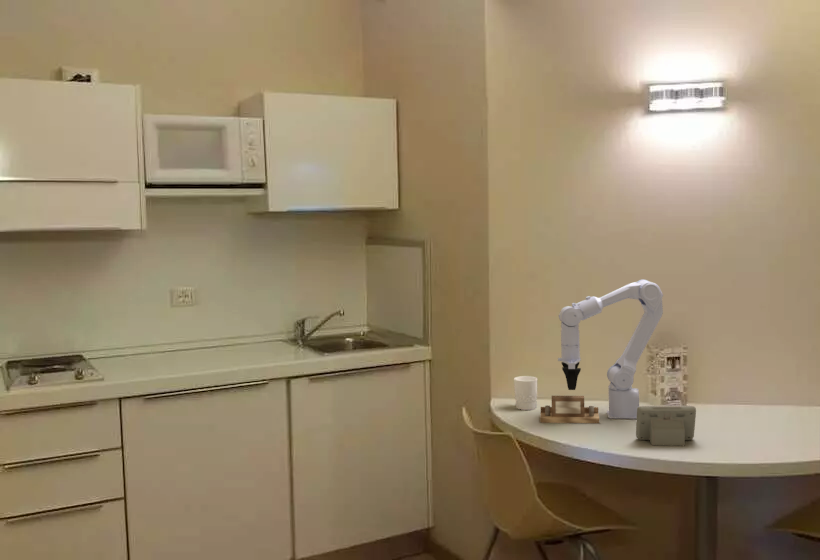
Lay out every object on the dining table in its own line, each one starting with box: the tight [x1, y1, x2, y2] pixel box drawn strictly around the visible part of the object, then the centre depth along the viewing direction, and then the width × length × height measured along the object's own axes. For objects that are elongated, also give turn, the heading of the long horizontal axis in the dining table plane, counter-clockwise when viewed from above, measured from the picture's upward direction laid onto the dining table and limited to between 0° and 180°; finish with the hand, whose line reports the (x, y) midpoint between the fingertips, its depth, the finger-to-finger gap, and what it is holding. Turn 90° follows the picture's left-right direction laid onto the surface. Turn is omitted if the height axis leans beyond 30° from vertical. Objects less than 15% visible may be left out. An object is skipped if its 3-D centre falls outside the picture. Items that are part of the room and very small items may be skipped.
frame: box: [551, 395, 585, 417], centre depth 250 cm, size 10×3×6 cm, turn 80°
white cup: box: [513, 375, 538, 411], centre depth 267 cm, size 8×8×10 cm
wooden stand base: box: [539, 405, 600, 424], centre depth 251 cm, size 18×7×4 cm, turn 80°
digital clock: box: [635, 405, 697, 446], centre depth 225 cm, size 16×9×11 cm, turn 71°
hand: (571, 386), depth 253 cm, fingers open, 7 cm apart
